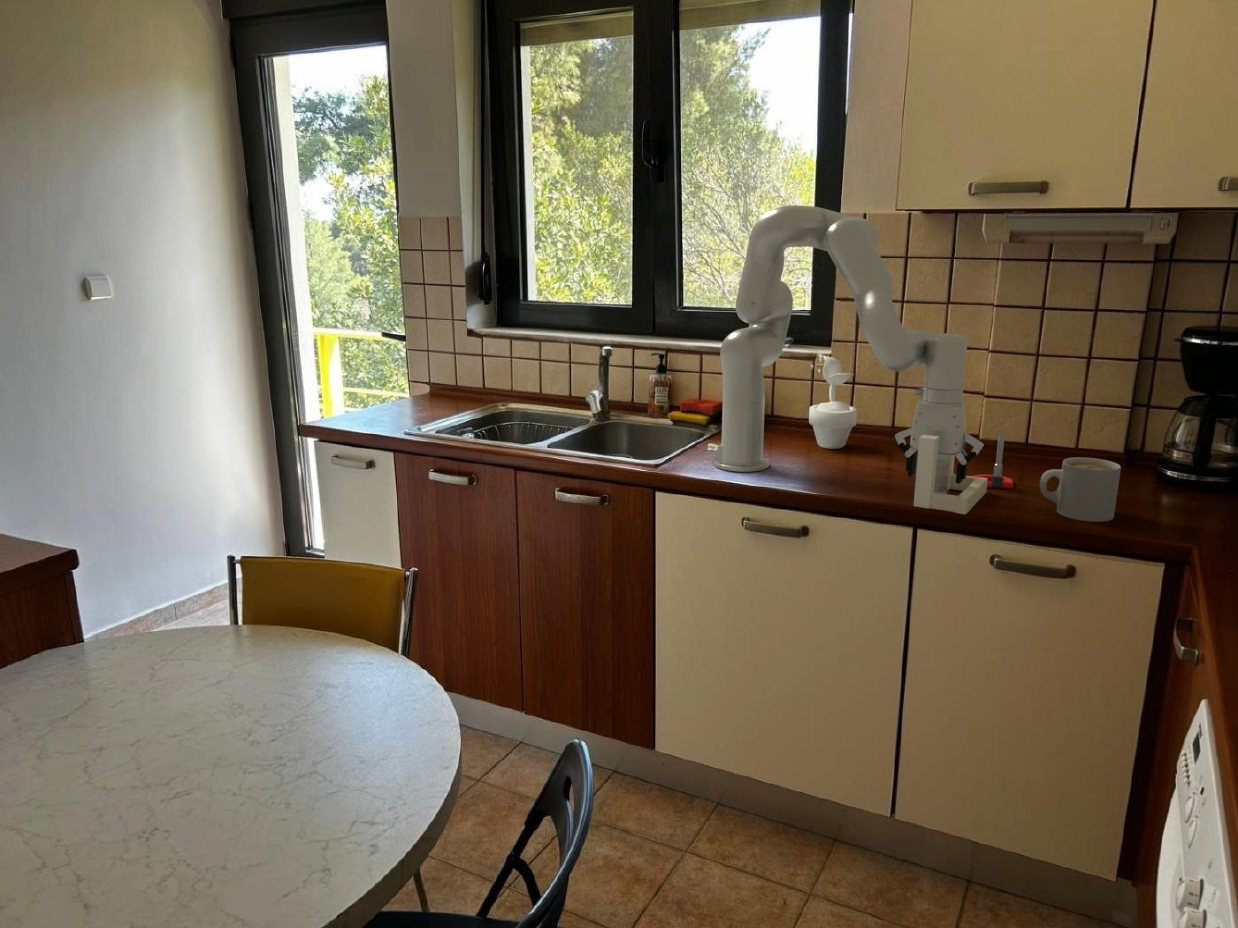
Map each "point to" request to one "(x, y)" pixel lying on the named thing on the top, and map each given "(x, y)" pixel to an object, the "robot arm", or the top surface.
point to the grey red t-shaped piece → (998, 469)
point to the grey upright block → (941, 476)
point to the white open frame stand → (969, 485)
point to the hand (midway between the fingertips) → (934, 478)
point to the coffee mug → (1084, 488)
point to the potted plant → (832, 410)
